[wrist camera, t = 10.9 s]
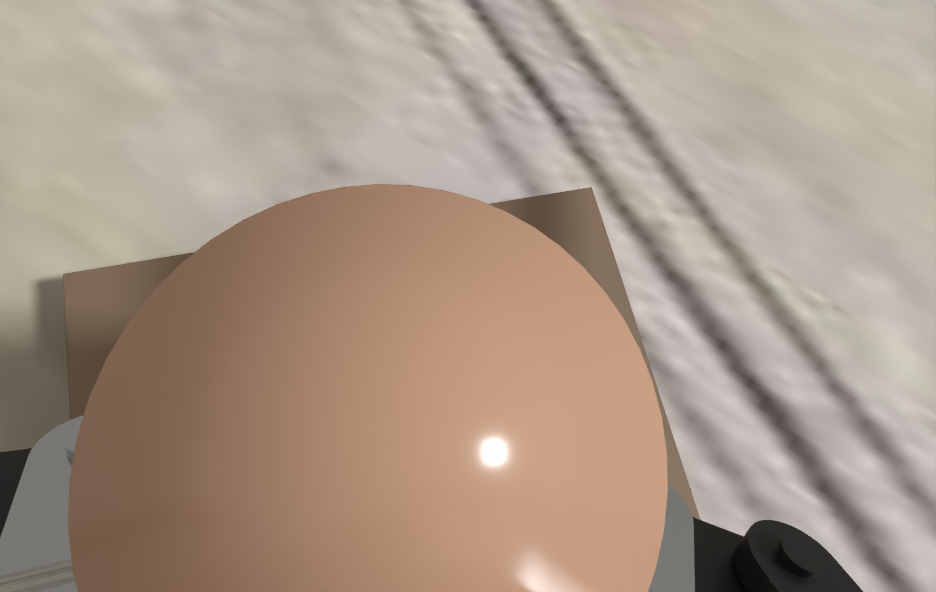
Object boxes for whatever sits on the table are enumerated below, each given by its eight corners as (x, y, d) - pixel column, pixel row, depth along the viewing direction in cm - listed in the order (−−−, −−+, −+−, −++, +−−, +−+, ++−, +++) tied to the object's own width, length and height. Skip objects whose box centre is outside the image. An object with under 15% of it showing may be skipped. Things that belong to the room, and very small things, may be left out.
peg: (464, 327, 16) (579, 153, 6) (509, 516, 14) (747, 676, 5) (278, 366, 14) (54, 227, 5) (308, 574, 13) (85, 939, 4)
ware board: (578, 202, 23) (591, 187, 21) (700, 584, 19) (725, 596, 17) (88, 286, 19) (63, 274, 17) (120, 787, 15) (91, 823, 14)
